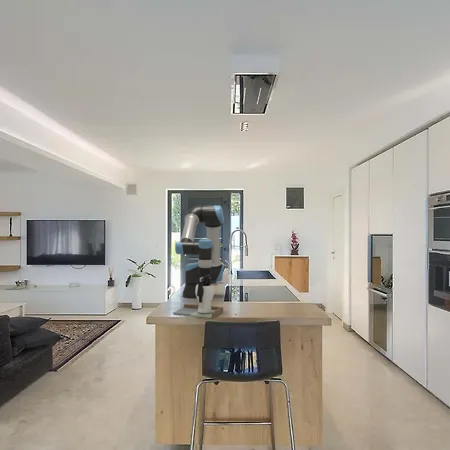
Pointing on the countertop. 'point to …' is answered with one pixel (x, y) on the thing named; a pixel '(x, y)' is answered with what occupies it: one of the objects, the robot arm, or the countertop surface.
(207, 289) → the cup
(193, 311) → the rail board
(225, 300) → the countertop surface
